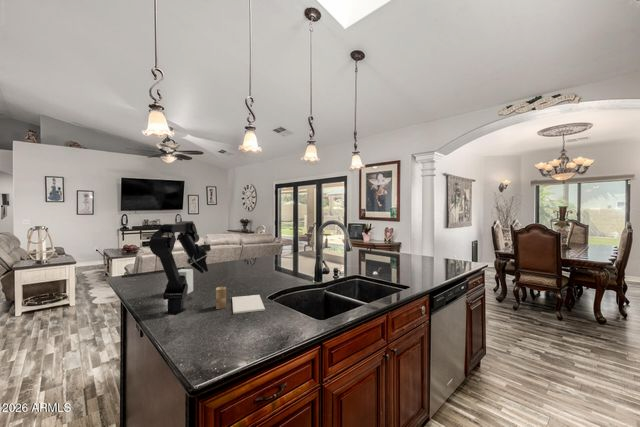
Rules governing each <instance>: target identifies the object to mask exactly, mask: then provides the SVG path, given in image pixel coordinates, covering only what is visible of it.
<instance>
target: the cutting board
mask: <svg viewBox="0 0 640 427" xmlns="http://www.w3.org/2000/svg"><path fill="white" fill-rule="evenodd" d="M231 299H232V300H231V301H232V313H233V314H245V313H253V312H254V313H255V312H260V311H261V312H262V311H265V310H266V308H265V305H264V303H263V300H262V298H261V295H260V294H253V295H252V294H251V295H244V296H243V295H242V296H232V298H231Z"/></svg>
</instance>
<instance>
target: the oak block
mask: <svg viewBox="0 0 640 427" xmlns="http://www.w3.org/2000/svg"><path fill="white" fill-rule="evenodd" d="M215 296H216V297H215V307H216V308H215V309H216V310H220V309H226V308H227V286H218V287H216V288H215Z"/></svg>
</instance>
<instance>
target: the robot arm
mask: <svg viewBox="0 0 640 427" xmlns="http://www.w3.org/2000/svg"><path fill="white" fill-rule="evenodd" d="M176 233H179V234H177V237H176V235H175V234H176ZM165 234H171V236H164V235H165ZM199 240H200V236H199V234H198V231H197V228H196V224H195V223H194V221H193V220H179V221H177V222H176V223H164V224H161V226H160V228H159V229H157V230H156V231H155V232H154V233H153V234H152V236H151V237H150V239H149V241H148V247H149V249H150V251H151V252H152V254H153V255H154V256H156V257H158V258H159V260H160V263H161V266H162V270H163V271H164V273H165V276H166V280H167V281H168V282H166V285H165V289H164V293H163V294H162V299H163V301H165V300H166V301H167V305H166V306H167V310H166V311H164V314H166V315H167V314H168V315H178V314H180V313H182V312H184V311H186V310H187V308H186V307H184V299H185V298H186V297H188V294H187V291H188V284H187V281H186V278H185V276H184V275H179V272H178V270H179V269H178V267H177V264H176V261H175V258H174V254H173V250H174V248H175V243H176V242H177V241H178V242H179V243H180V245H181V246H182V249H183V251H184V253H186V255H187V260H186V263H187V265H189V266H190V267H192V269H195V270H196V271H198V272H199V273H200V274H203V273H204V272H206V273H207V272H209V269H208V265H207V257H208V253H207V252H210V251H212V248H211V244H210V243H208V244H200V245H199V244H198V242H199Z"/></svg>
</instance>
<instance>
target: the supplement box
mask: <svg viewBox="0 0 640 427" xmlns="http://www.w3.org/2000/svg"><path fill="white" fill-rule="evenodd" d="M178 272H179V275H184V276H185V278H186V281H187V284H188V291H187V295H188V294H190V293H192V292H193V291H194V268H179V269H178Z"/></svg>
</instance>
